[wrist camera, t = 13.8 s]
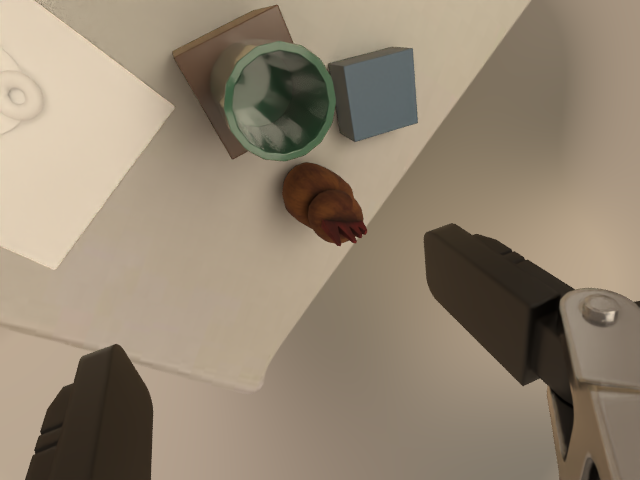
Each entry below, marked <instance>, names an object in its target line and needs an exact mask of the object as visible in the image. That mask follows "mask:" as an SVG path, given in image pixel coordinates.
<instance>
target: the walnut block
mask: <svg viewBox="0 0 640 480" xmlns="http://www.w3.org/2000/svg"><path fill="white" fill-rule="evenodd" d="M251 38H252V39H253V38H254V39H265V40H276V41H283V42H288V43H293V41H292V39H291V36H290V34H289V31H288V29H287V26H286V24H285V21H284V19H283V17H282V14H281V12H280V9H279V7H278V5H274V6H269V7H265V8H261V9H257V10H253V11H251V12H249V13H247V14H245V15H243V16H241V17H239V18H237V19H235V20H233V21H231V22H229V23H227V24H225V25H223V26H221V27H219V28H217V29H215V30H213V31H211V32H209V33H207V34H205V35H204V36H202V37H200V38H198V39H196V40H194V41H192V42H190V43H188V44H186V45H184V46H182V47H180V48H178V49H176V50H174V51H172V53H173V56H174V59H175V61H176V63H177V65H178V66H179V68H180V70H181V71H182V73H183V75H184V77H185V78H186V80H187V82H188V84H189V85H190V87H191V89H192V91H193V92H194V94H195V96H196V98H197V99H198V101H199V103H200V105H201V106H202V108H203V110H204V111H205V113H206V115H207V117H208V118H209V120H210V122H211V124H212V125H213V127H214V129H215V131H216V132H217V134H218V136H219V138H220V139H221V141H222V143H223V145H224V146H225V148H226V150H227V151H228V153H229V155H230V157H231V158H232V159H234V158H236V157H238V156H240V155H242V154H244V153H246V152H247V151H248V150H246V149H245V148H244V147H243V146H242V145H241V143H240V142H239V141H238V140H237V139H236V137H235V136H234V135H233V134H232V132H231V131H230V129H229V128H228V126H227V125H226V123H225V122H224V120H223V118H222V117H221V115H220V114H219V112H218V111H217V109H216V107H215V104H214V101H213V99H212V95H211V90H210V77H211V71H212V68H213V65H214V63H215V61H216V59H217V58H218V56H219V55H220V54H221V52H222V51H224V50H225V49H226V48H227V47H228V46H230V45H231V44H233V43H235V42H238V41H241V40H246V39H251Z"/></svg>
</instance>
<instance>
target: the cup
mask: <svg viewBox="0 0 640 480" xmlns="http://www.w3.org/2000/svg"><path fill="white" fill-rule="evenodd" d="M210 90H211V95H212V99H213V101H214V104H215V107H216V109H217V111H218V112H219V114H220V115H221V117H222V118H223V120H224V122H225V123H226V125H227V126H228V128H229V129H230V131H231V132H232V134H233V135H234V136H235V137H236V139H237V140H238V141H239V142H240V143H241V145H242V146H243V147H244V148H245V149H246V150H248V151H249V152H251V153H253V154H255V155H257V156H259V157H261V158H262V159H265V160H275V161H288V160H291V159H295V158H298V157H301V156H304V155H306V154H307V153H308V152H310V151H311V150H312V149H313V148H315V147H316V146H317V145H318V144H320V143H321V142H322V140H323V138H324V137H325V135H326V133H327V131H328V130H329V128H330V126H331V125H332V122H333V116H334V111H335V106H336V97H335V91H334V85H333V80H332V78H331V76H330V74H329V73H328V71H327V69H326V67H325V66H324V64H323V62H322V61H321V60H320V58H318V57H317V56H316V55H314V54H313V53H312V52H310V51H309V50H307V49H306V48H305V47H303V46H301V45H298V44H293V43H288V42H283V41H276V40H265V39H254V38H253V39H252V38H251V39H246V40H241V41H238V42H235V43H233V44H231V45H230V46H228V47H227V48H226V49H225V50H224V51H222V52H221V54H220V55H219V56H218V58H217V59H216V61H215V63H214V65H213V68H212V71H211V77H210Z"/></svg>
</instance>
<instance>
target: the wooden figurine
mask: <svg viewBox="0 0 640 480" xmlns="http://www.w3.org/2000/svg"><path fill="white" fill-rule="evenodd" d="M282 196H283V199H284V203H285V207H286V209H287V211H288V212H289V213H290V214H291V215H292V216H293V217H294V218H296V219H297V220H298V221H299V222H301V223H303V224H304V225H306V226H308V227H310V228H312V229H313V230H314V231H315V233H316V234H317V235H318V236H319V237H321V238H322V239H324V240H325V241H327V242H330V243H335V244H336V245H337V246H341V243H344V242H346V241H349V240H350V241H351V242H352V243H356V242H357V240H356V238H355V236H357V237H358V238H362V234H364V235H365V234H366V233H367V229H366V226H365V225H364V223H363V214H362V210H361V207H360V206H359V204H358V203H357V201H356V200H355V199H354V196H353V192H352V189H351V187H350V186H349V184H348V183H346V182H345V181H344V180H343V179H342V178H341V177H340V176H338V175H337V174H335V173H334V172H332V171H330V170H328V169H326V168H324V167H322V166H320V165H317V164H313V163H307V162H305V163H302V164H300V165H297V166H295V167H294V168H293V169H292V170H291V171H290V172H289V173H288V175H287V177H286V178H285V180H284V184H283V191H282Z"/></svg>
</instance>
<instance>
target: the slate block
mask: <svg viewBox="0 0 640 480" xmlns="http://www.w3.org/2000/svg"><path fill="white" fill-rule="evenodd" d="M329 69H330V75H331V78H332V80H333V85H334V91H335V97H336V110H337V116H338V122H339V128H340V133H341V134H342V135H344V136H346V137H348V138H349V139H351V140H353V141H354V142H356V141H360V140H363V139H366V138H370V137H373V136H376V135H379V134H383V133H386V132H389V131H393V130H396V129H399V128H402V127H406V126H409V125H412V124H416V123H418V118H417V104H416V89H415V74H414V60H413V48H401V47H390V48H386V49H382V50H378V51H375V52H371V53H367V54H363V55H359V56H355V57H352V58H348V59H344V60H340V61H336V62H332V63H329Z"/></svg>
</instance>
